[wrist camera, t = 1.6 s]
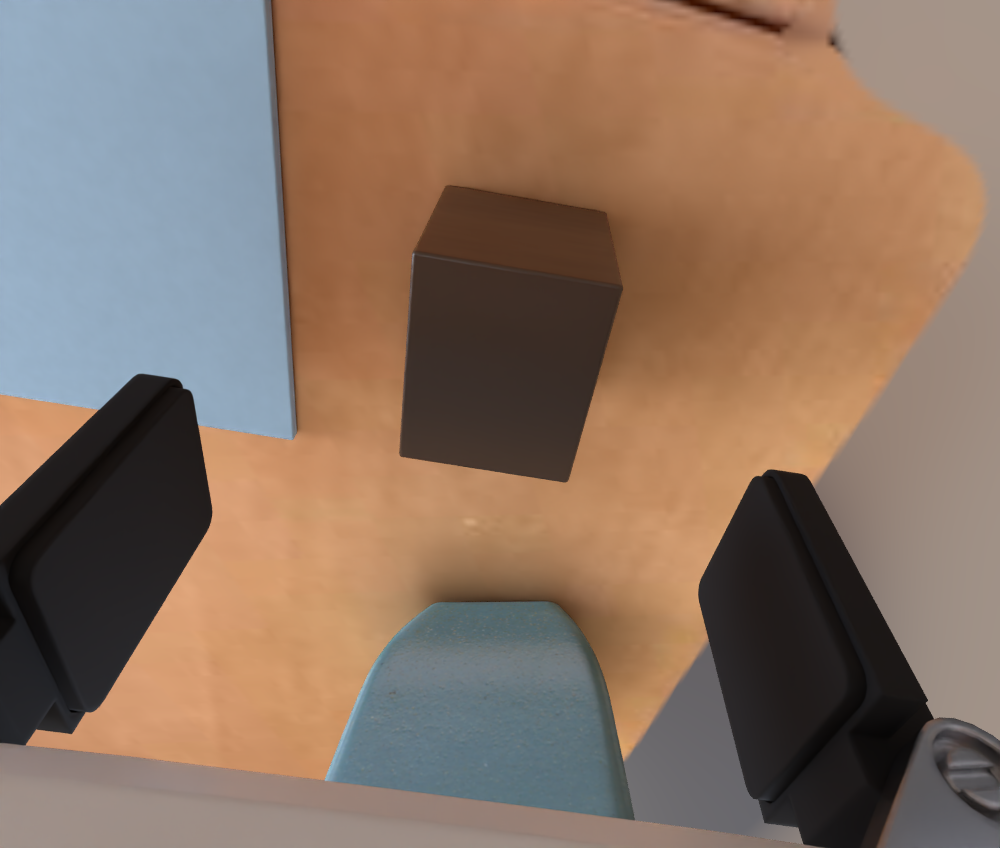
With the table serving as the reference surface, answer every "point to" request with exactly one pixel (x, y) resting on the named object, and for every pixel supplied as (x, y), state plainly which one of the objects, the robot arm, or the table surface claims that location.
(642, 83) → the table surface
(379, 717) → the flower pot
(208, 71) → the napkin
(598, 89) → the table surface
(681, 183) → the table surface
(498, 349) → the walnut block
